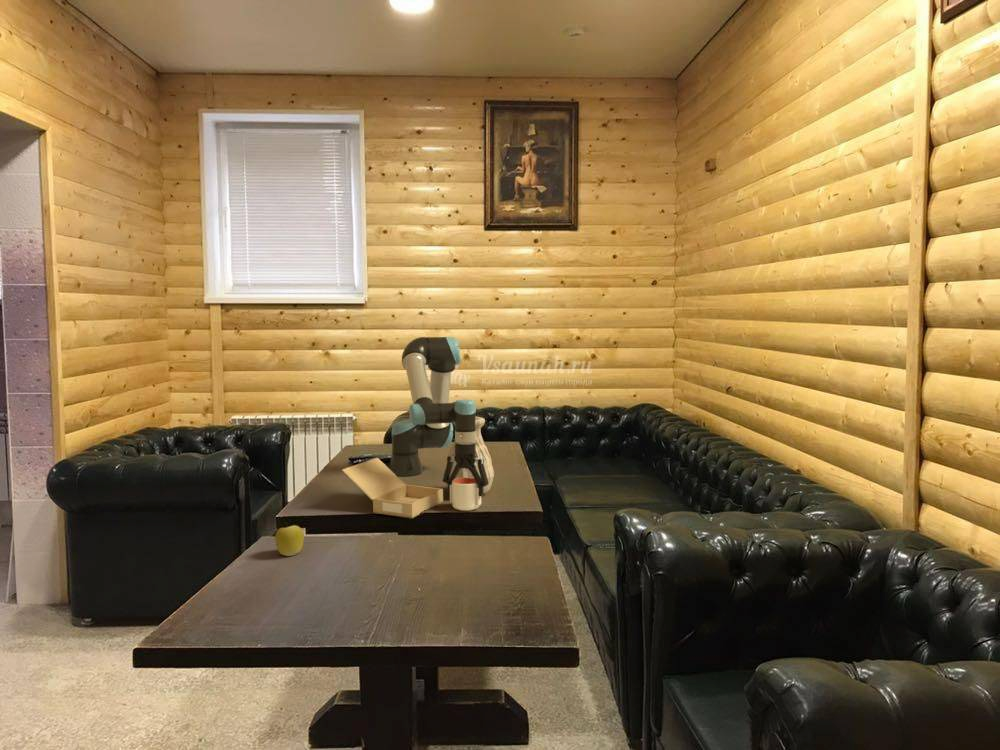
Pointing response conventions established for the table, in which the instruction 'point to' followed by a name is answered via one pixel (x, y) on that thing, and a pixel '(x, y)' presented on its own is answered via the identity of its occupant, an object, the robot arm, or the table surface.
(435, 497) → the box
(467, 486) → the cup
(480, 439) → the vase
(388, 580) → the table surface
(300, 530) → the apple
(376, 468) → the lid
